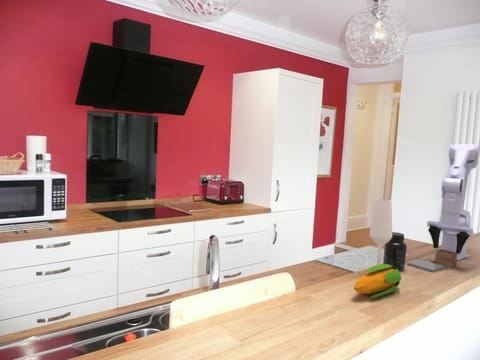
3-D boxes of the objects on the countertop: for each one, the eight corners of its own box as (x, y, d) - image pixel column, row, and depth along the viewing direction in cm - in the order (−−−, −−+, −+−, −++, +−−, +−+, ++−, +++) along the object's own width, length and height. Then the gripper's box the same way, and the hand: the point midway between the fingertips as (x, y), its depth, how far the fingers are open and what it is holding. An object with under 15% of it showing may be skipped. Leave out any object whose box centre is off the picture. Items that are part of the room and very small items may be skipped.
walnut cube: (441, 262, 138) (442, 249, 137) (456, 266, 134) (457, 252, 133) (434, 264, 135) (436, 250, 134) (449, 268, 131) (451, 254, 130)
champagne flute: (381, 280, 116) (388, 202, 114) (362, 274, 121) (367, 199, 119) (393, 276, 120) (399, 201, 118) (373, 270, 125) (379, 198, 123)
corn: (408, 263, 109) (369, 277, 96) (408, 289, 109) (369, 306, 96) (384, 258, 114) (344, 270, 102) (383, 283, 115) (344, 298, 102)
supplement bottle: (378, 266, 130) (380, 231, 129) (393, 264, 133) (395, 230, 131) (394, 272, 124) (397, 236, 122) (409, 270, 126) (412, 235, 125)
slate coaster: (418, 261, 138) (419, 259, 137) (444, 268, 130) (444, 266, 130) (407, 264, 133) (407, 262, 133) (433, 272, 126) (433, 270, 125)
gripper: (424, 209, 135) (420, 247, 137) (468, 216, 124) (464, 257, 125) (433, 208, 140) (430, 244, 141) (477, 215, 128) (473, 254, 130)
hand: (446, 250), depth 133 cm, fingers open, 7 cm apart
